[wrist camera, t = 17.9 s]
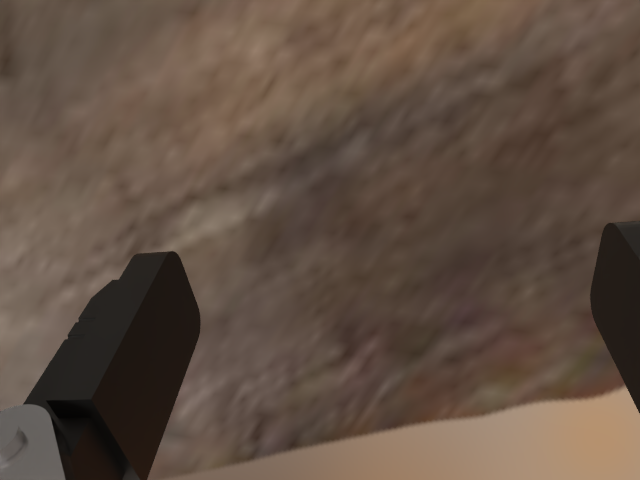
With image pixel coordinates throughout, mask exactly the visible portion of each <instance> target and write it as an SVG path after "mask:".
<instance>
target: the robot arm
mask: <svg viewBox="0 0 640 480" xmlns="http://www.w3.org/2000/svg"><path fill="white" fill-rule="evenodd" d="M590 300H591V309H592V314H593V318H594V321H595V323H596V325H597V327H598V329H599V331H600V333H601V335H602V337H603V340H604V342H605V344H606V346H607V348H608V350H609V352H610V354H611V356H612V358H613V360H614V362H615V364H616V366H617V368H618V370H619V372H620V374H621V376H622V378H623V380H624V382H625V385H626V387H627V389H628V391H629V393H630V395H631V397H632V399H633V401H634V403H635V405H636V407H637V409H638V411H639V413H640V221H632V222H617V223H609V224H607V225H606V226H605V228H604V230H603V233H602V237H601V242H600V247H599V252H598V257H597V262H596V267H595V271H594V276H593V281H592V286H591V294H590ZM78 319H79V322H76V323H75V325H74V326H73V328H72V329H71V331H70V332H69V334H68V339H67V340H64V342H63V343H62V345H61V346H60V348H59V349H58V351H57V353H56V354H55V356H54V357H53V359H52V360H51V362H50V363H49V365H48V367H47V368H46V370H45V371H44V373H43V374H42V376H41V377H40V379H39V381H38V382H37V384H36V385H35V387H34V388H33V390H32V391H31V393H30V394H29V396H28V398H27V399H26V401H25V402H24V404H23V405H18V406H14V407H10V408H7V409H5V410H3V411H0V480H147V478H148V475H149V472H150V470H151V467H152V464H153V461H154V459H155V456H156V453H157V450H158V448H159V445H160V442H161V439H162V437H163V434H164V431H165V428H166V426H167V423H168V420H169V417H170V415H171V412H172V409H173V406H174V404H175V401H176V398H177V396H178V393H179V390H180V387H181V385H182V382H183V379H184V376H185V374H186V371H187V368H188V365H189V363H190V360H191V357H192V354H193V352H194V349H195V346H196V343H197V341H198V338H199V333H200V313H199V308H198V305H197V302H196V300H195V297H194V294H193V292H192V289H191V286H190V283H189V281H188V278H187V275H186V273H185V270H184V267H183V264H182V262H181V259H180V257H179V256H178V254H177V253H176V252H173V251H170V252H156V253H141V254H136V255H134V256H133V258H132V259H131V261H130V262H129V264H128V266H127V267H126V269H125V270H124V272H123V274H122V275H121V277H120V279H119V280H112V281H111V282H110V283H109V284H107V285H106V286H105V287H104V288H103V289H102V290H100V291H99V292H98V293H97V294H96V295H95V296H93V297H92V298H91V300H90V301H89V303H88V304H87V306H86V307H85V309H84V311H83V312H82V314H81V315H80V317H79V318H78Z"/></svg>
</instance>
